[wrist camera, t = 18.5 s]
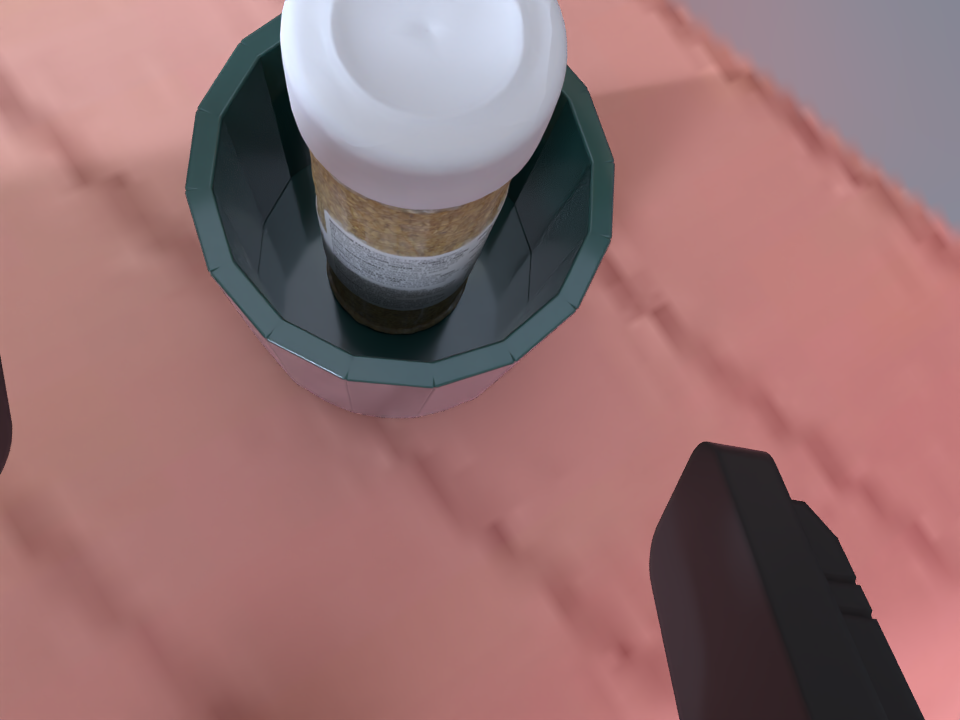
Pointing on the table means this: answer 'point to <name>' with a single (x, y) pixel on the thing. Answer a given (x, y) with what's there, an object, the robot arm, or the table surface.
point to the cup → (302, 260)
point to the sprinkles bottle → (416, 137)
